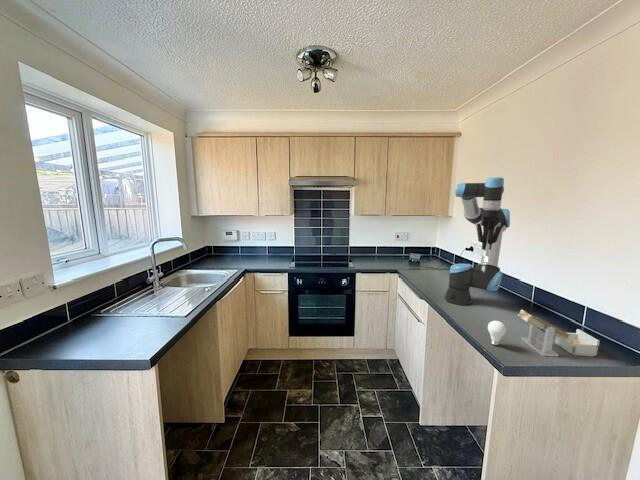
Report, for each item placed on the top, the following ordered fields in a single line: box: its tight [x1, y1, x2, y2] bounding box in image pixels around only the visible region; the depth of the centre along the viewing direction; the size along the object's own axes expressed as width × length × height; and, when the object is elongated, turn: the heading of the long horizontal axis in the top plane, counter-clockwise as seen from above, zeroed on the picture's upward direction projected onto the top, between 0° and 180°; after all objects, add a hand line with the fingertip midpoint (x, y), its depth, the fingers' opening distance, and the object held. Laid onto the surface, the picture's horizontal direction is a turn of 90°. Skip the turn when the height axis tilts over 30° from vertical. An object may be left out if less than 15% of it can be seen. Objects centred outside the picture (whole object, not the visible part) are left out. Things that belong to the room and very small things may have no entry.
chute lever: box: [517, 309, 569, 340], centre depth 115 cm, size 14×18×4 cm
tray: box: [553, 328, 600, 357], centre depth 112 cm, size 10×9×7 cm
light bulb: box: [487, 320, 507, 346], centre depth 114 cm, size 7×7×11 cm
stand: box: [520, 316, 559, 358], centre depth 112 cm, size 13×6×12 cm, turn 175°
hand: (485, 256), depth 133 cm, fingers closed
